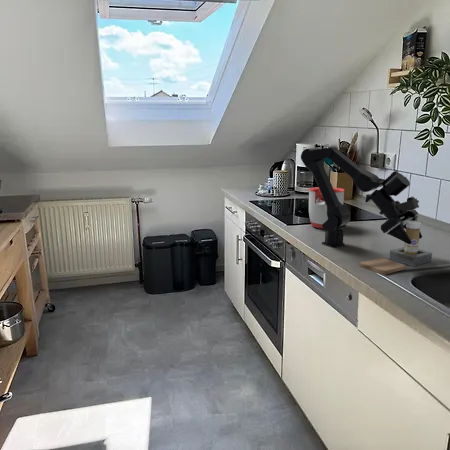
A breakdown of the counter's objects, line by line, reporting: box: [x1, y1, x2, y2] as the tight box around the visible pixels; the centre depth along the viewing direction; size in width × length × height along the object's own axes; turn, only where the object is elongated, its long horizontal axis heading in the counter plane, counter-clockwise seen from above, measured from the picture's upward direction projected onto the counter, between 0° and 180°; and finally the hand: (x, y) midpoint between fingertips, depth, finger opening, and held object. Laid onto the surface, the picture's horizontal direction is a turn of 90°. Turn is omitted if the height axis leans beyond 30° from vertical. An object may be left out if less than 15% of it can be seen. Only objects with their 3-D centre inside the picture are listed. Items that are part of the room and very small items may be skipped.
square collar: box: [388, 247, 433, 267], centre depth 145 cm, size 9×9×3 cm
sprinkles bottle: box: [403, 220, 422, 255], centre depth 144 cm, size 5×5×14 cm
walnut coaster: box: [358, 256, 407, 276], centre depth 138 cm, size 10×10×1 cm
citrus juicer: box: [308, 186, 345, 229], centre depth 190 cm, size 16×17×20 cm
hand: (416, 240), depth 143 cm, fingers open, 9 cm apart
